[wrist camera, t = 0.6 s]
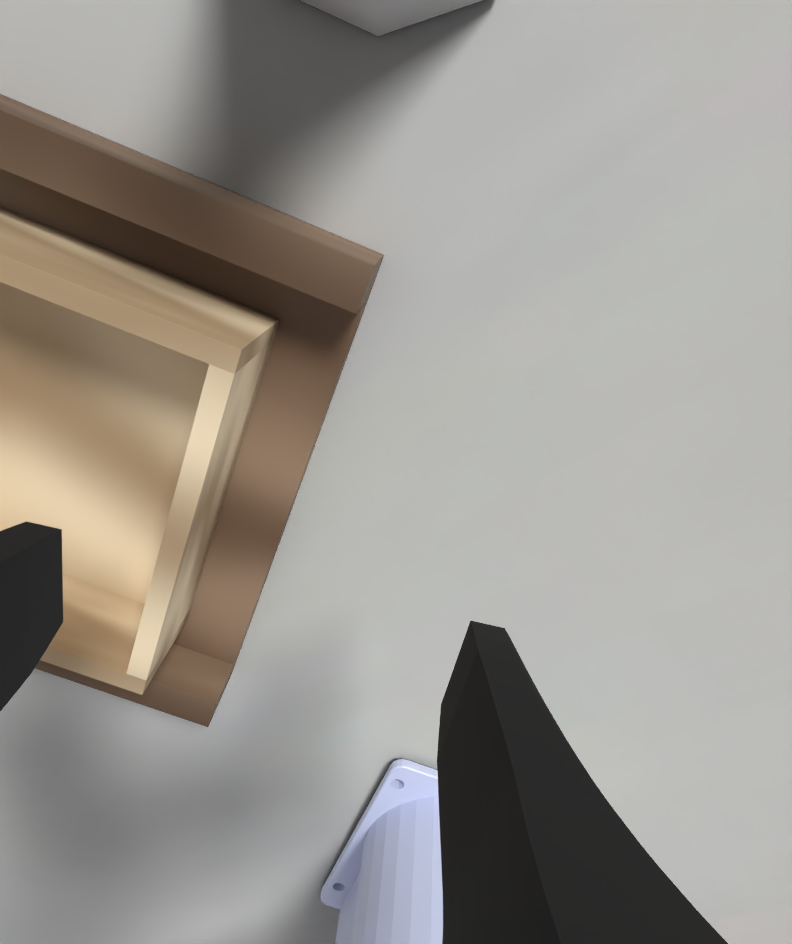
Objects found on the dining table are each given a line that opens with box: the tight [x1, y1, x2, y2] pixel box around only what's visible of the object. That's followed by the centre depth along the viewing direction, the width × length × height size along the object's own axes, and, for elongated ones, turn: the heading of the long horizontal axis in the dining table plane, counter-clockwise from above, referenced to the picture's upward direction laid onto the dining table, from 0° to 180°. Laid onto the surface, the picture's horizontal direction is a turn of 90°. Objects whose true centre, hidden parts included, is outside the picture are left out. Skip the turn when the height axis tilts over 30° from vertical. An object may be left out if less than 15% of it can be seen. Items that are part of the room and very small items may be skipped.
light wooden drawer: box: [0, 207, 280, 695], centre depth 17 cm, size 11×8×4 cm
